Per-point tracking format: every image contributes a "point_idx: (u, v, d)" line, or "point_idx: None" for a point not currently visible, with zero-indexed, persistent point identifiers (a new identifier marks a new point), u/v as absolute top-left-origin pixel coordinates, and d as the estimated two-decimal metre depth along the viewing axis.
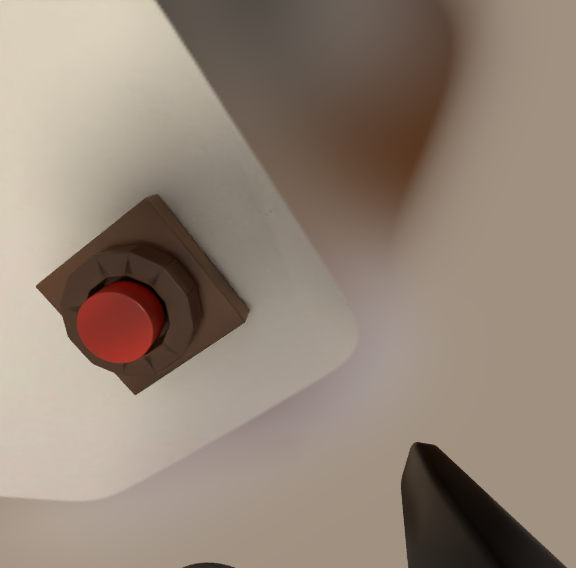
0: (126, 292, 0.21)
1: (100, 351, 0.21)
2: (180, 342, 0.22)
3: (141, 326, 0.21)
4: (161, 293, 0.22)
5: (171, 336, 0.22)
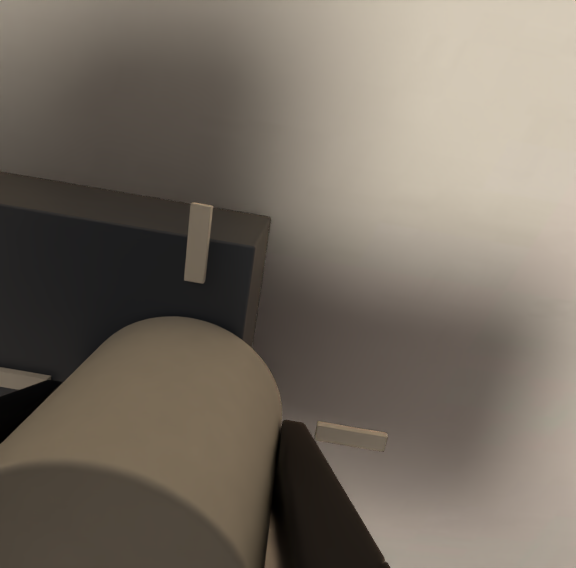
0: None
1: None
2: None
3: None
4: None
5: None
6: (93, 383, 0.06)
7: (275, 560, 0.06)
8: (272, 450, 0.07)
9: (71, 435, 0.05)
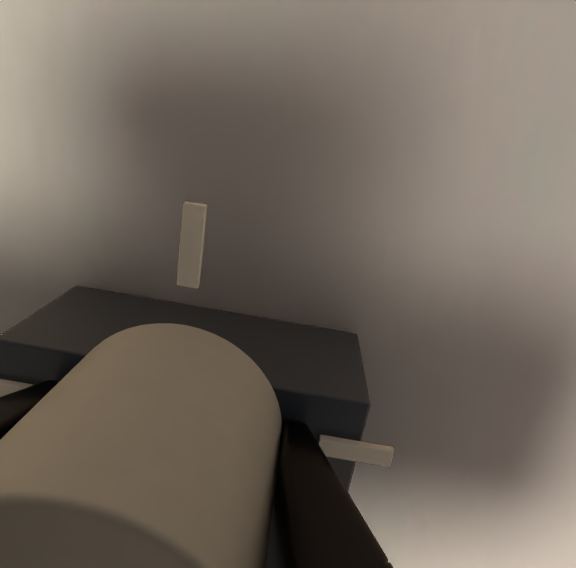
0: None
1: None
2: None
3: None
4: None
5: None
6: (76, 400, 0.06)
7: (277, 561, 0.06)
8: (271, 472, 0.07)
9: (48, 465, 0.05)
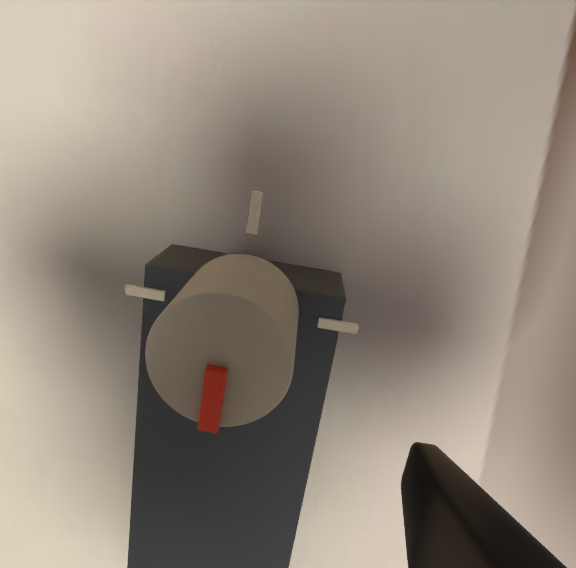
0: None
1: None
2: None
3: None
4: None
5: None
6: (213, 275, 0.13)
7: None
8: (296, 319, 0.14)
9: (215, 287, 0.12)
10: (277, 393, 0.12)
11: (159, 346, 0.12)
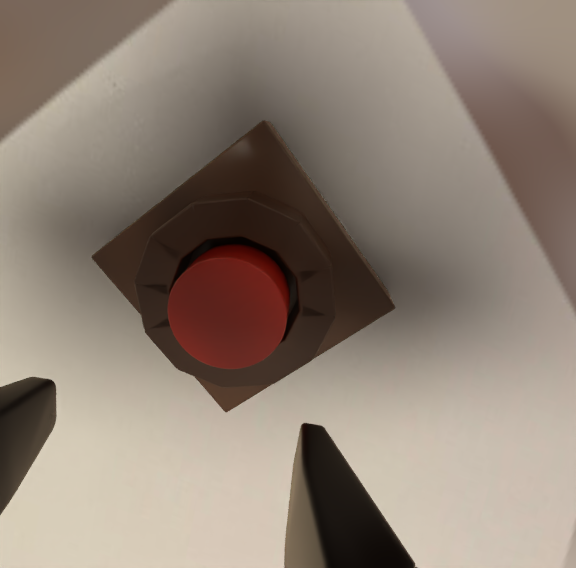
0: None
1: (266, 342, 0.14)
2: (272, 221, 0.14)
3: (219, 275, 0.13)
4: (191, 243, 0.14)
5: (262, 235, 0.14)
6: None
7: (300, 565, 0.06)
8: None
9: None
10: None
11: None
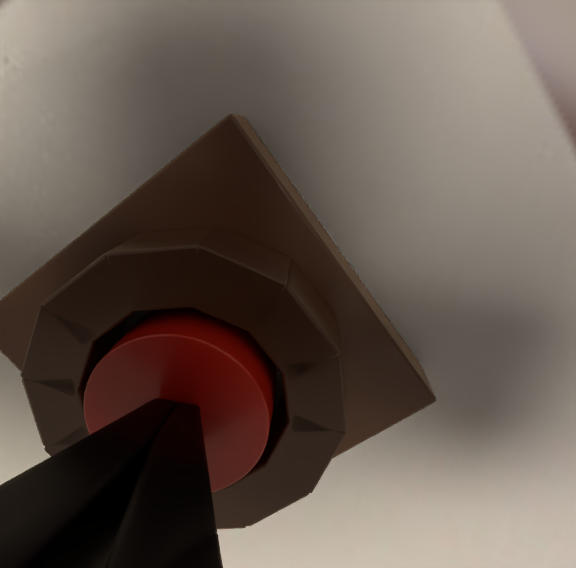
0: None
1: (238, 459, 0.09)
2: (241, 284, 0.08)
3: (161, 360, 0.08)
4: (109, 318, 0.09)
5: (225, 305, 0.08)
6: None
7: None
8: None
9: None
10: None
11: None
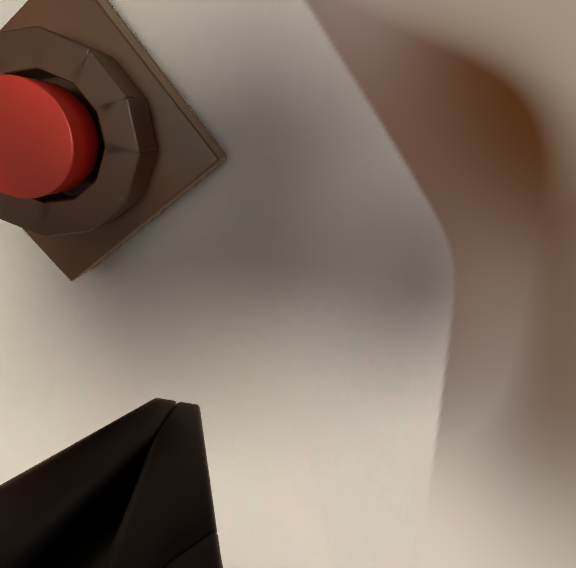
0: None
1: (57, 166, 0.14)
2: (64, 50, 0.14)
3: (0, 93, 0.13)
4: None
5: (57, 65, 0.14)
6: None
7: None
8: None
9: None
10: None
11: None
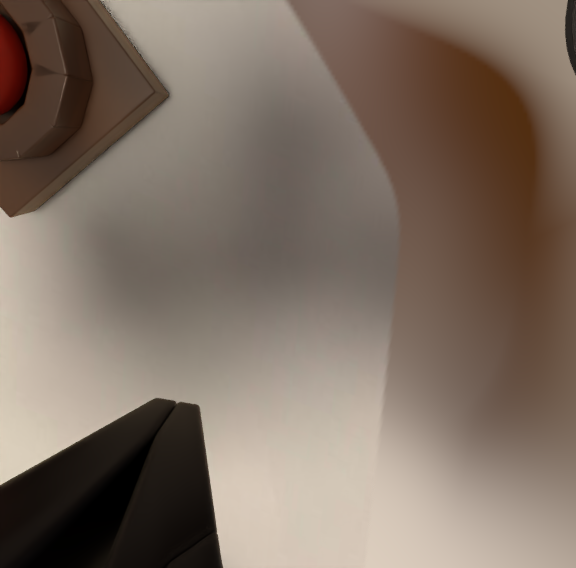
0: None
1: None
2: None
3: None
4: None
5: None
6: None
7: None
8: None
9: None
10: None
11: None
